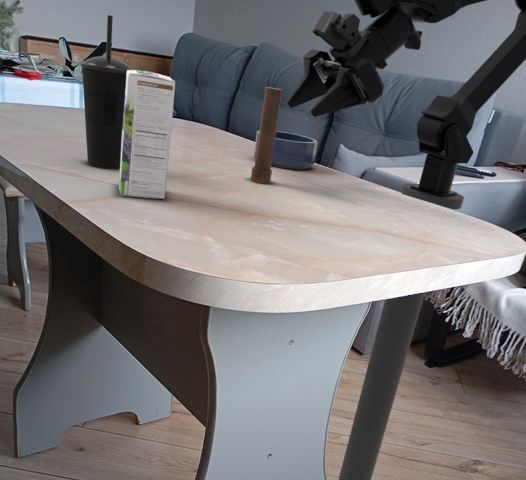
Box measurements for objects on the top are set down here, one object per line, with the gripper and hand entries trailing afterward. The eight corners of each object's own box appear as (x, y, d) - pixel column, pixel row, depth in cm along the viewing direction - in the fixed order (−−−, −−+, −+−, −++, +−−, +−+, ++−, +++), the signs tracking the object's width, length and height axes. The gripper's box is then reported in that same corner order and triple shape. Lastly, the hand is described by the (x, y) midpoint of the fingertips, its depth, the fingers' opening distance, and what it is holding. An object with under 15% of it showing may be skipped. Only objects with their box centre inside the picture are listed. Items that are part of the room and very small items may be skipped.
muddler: (259, 178, 101) (272, 87, 95) (274, 183, 100) (288, 90, 94) (246, 179, 99) (259, 86, 93) (261, 184, 97) (275, 89, 91)
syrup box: (118, 185, 83) (123, 67, 76) (162, 189, 84) (171, 74, 78) (119, 196, 78) (126, 71, 71) (166, 200, 79) (176, 79, 73)
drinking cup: (140, 167, 95) (149, 22, 86) (109, 173, 88) (115, 16, 79) (100, 157, 97) (104, 14, 88) (67, 161, 91) (68, 8, 82)
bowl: (279, 156, 125) (283, 130, 123) (324, 169, 119) (329, 142, 117) (241, 157, 117) (244, 130, 115) (287, 171, 111) (292, 143, 108)
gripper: (325, -6, 99) (251, 59, 99) (385, -6, 83) (297, 70, 84) (357, 56, 105) (287, 116, 106) (417, 66, 90) (336, 136, 90)
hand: (299, 109), depth 96 cm, fingers open, 9 cm apart
